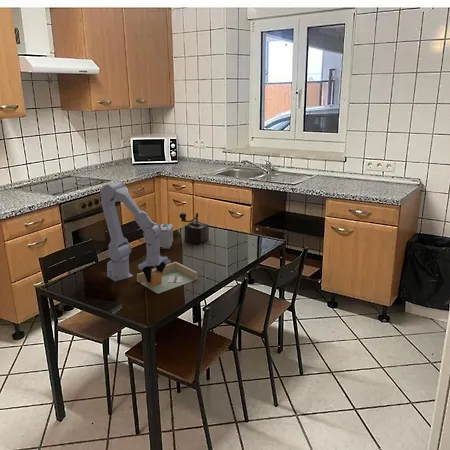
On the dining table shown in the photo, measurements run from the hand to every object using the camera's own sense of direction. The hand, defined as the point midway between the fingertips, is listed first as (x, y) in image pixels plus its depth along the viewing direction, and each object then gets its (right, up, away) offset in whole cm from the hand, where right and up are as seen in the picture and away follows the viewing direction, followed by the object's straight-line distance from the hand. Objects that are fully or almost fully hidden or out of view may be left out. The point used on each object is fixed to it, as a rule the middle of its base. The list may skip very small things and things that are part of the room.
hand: (153, 279), depth 198 cm
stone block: (-1, +5, +21) cm, 22 cm away
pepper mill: (+14, +15, +53) cm, 57 cm away
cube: (0, -1, 0) cm, 1 cm away
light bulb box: (-1, +13, +47) cm, 49 cm away
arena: (+6, -1, +3) cm, 7 cm away
